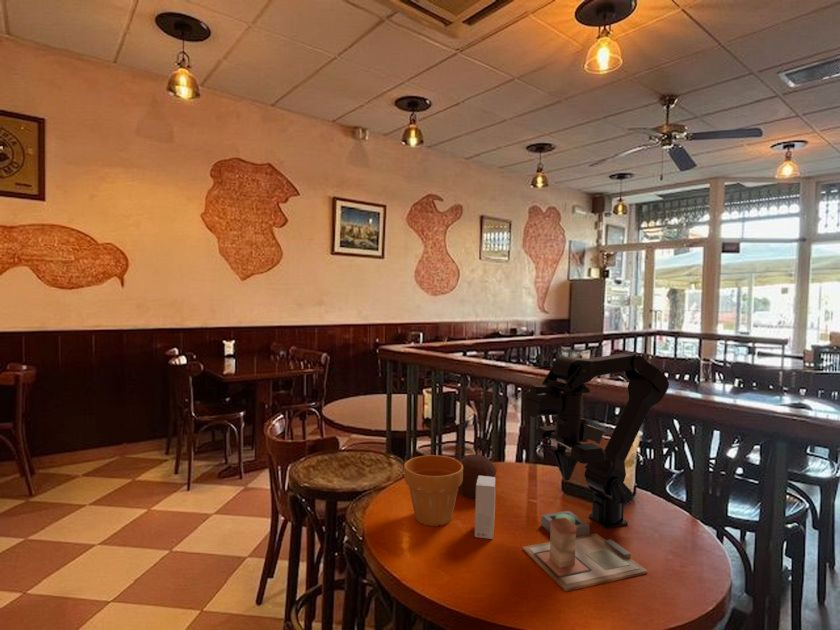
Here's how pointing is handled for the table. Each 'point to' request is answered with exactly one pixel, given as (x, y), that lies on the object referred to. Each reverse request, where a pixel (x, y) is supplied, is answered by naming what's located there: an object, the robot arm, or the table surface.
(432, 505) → the flower pot
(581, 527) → the button collar
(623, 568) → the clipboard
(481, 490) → the skincare box
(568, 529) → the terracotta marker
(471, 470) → the muffin
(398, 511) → the table surface
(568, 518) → the button
